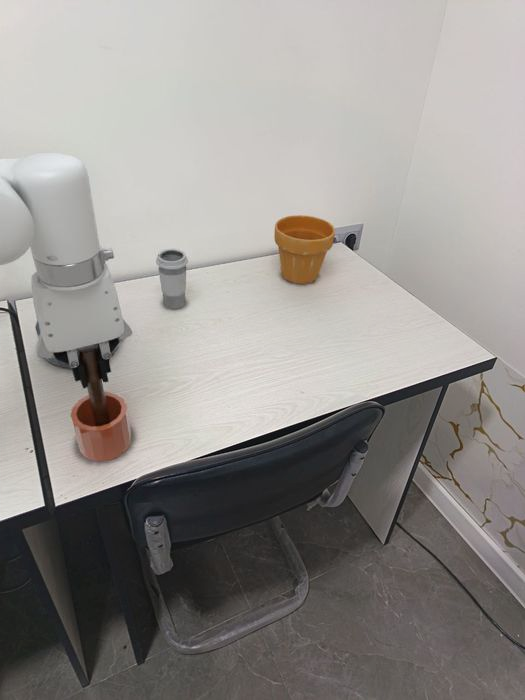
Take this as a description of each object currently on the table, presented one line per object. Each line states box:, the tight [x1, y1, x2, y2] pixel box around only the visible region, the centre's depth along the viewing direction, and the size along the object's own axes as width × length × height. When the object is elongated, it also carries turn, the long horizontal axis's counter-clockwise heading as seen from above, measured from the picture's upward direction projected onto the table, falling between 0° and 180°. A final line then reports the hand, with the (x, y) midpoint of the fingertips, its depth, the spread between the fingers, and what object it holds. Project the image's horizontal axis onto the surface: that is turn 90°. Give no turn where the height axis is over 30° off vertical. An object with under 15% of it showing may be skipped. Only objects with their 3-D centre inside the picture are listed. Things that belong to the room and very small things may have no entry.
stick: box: [79, 345, 110, 426], centre depth 72 cm, size 2×2×18 cm
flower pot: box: [273, 214, 336, 285], centre depth 120 cm, size 14×14×13 cm
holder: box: [70, 391, 132, 462], centre depth 76 cm, size 8×8×7 cm
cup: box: [155, 248, 189, 310], centre depth 107 cm, size 7×7×12 cm
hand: (93, 378), depth 70 cm, fingers closed on stick, 2 cm apart
